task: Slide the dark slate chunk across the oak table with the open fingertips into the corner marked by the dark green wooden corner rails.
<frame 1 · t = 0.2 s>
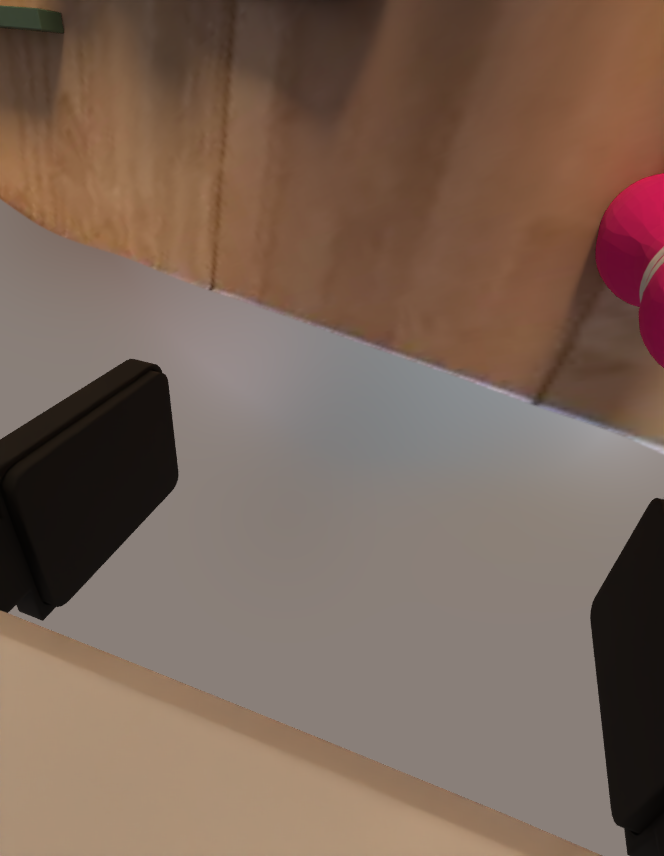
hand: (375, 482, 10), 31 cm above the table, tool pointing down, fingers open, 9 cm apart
pepper mill: (652, 227, 32), on the table
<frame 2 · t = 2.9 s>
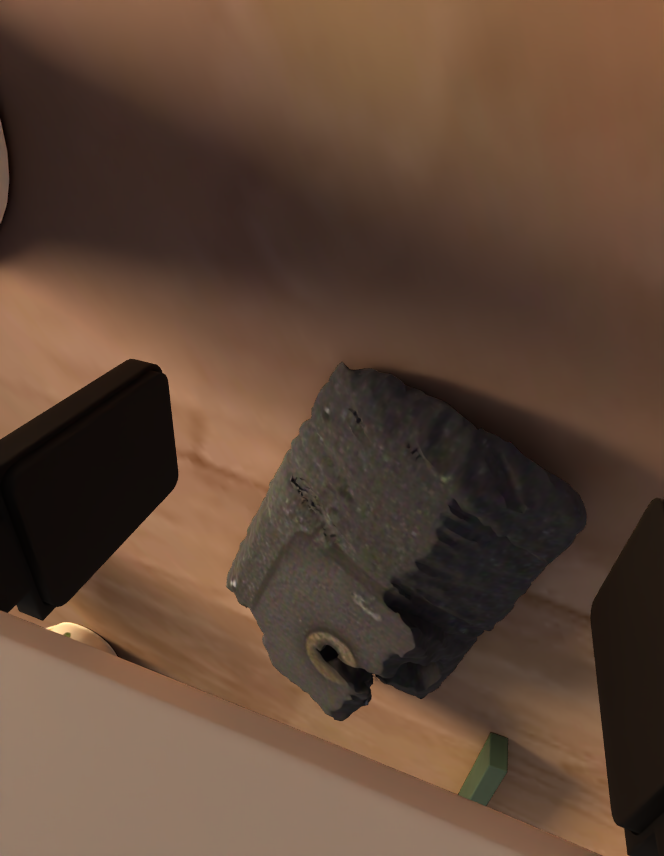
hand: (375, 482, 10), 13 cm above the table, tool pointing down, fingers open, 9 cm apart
corner stop: (347, 732, 41), on the table
dark slate chunk: (384, 550, 29), on the table
pitcher: (97, 648, 47), on the table
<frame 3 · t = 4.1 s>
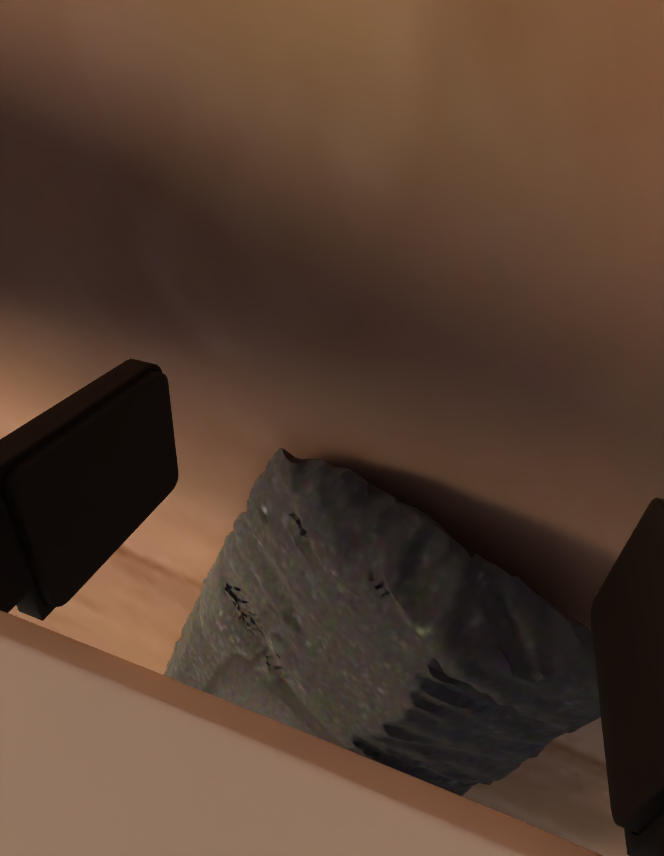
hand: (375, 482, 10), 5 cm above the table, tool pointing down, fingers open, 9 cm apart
dark slate chunk: (353, 667, 22), on the table
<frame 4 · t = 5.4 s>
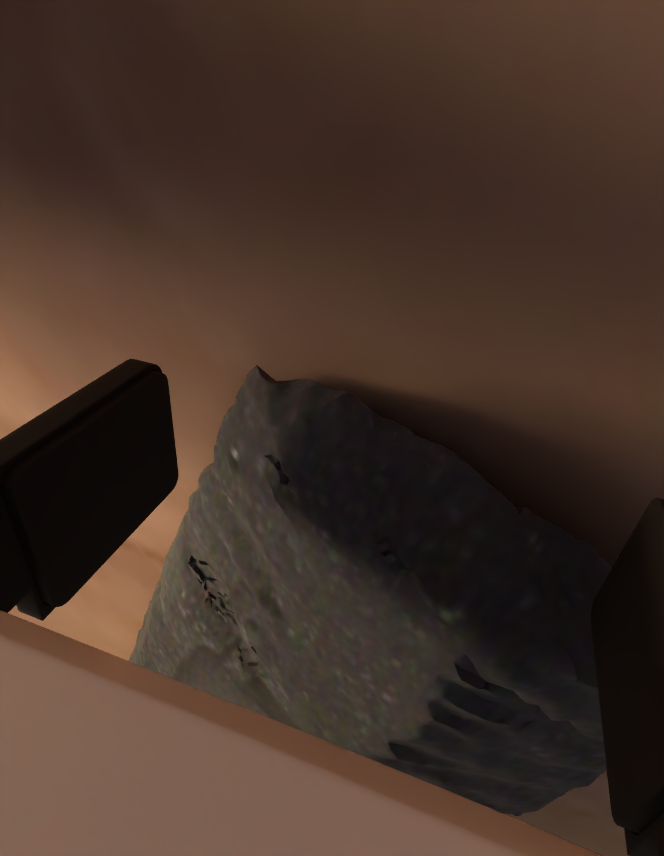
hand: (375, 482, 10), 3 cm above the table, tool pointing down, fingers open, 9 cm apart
dark slate chunk: (349, 665, 18), on the table, touching gripper
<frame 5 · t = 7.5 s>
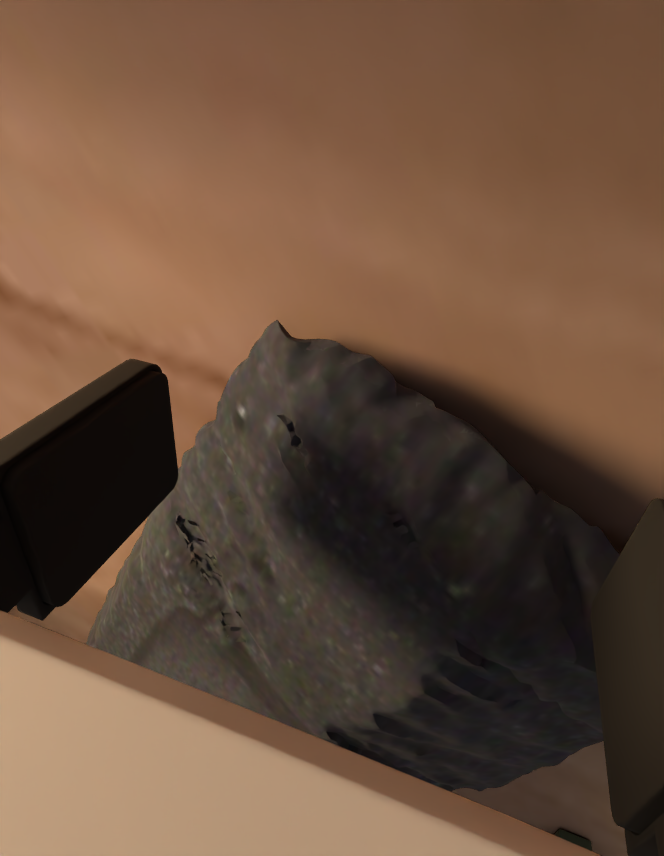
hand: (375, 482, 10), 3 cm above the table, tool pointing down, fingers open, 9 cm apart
corner stop: (313, 800, 25), on the table
dark slate chunk: (327, 637, 18), on the table, touching gripper
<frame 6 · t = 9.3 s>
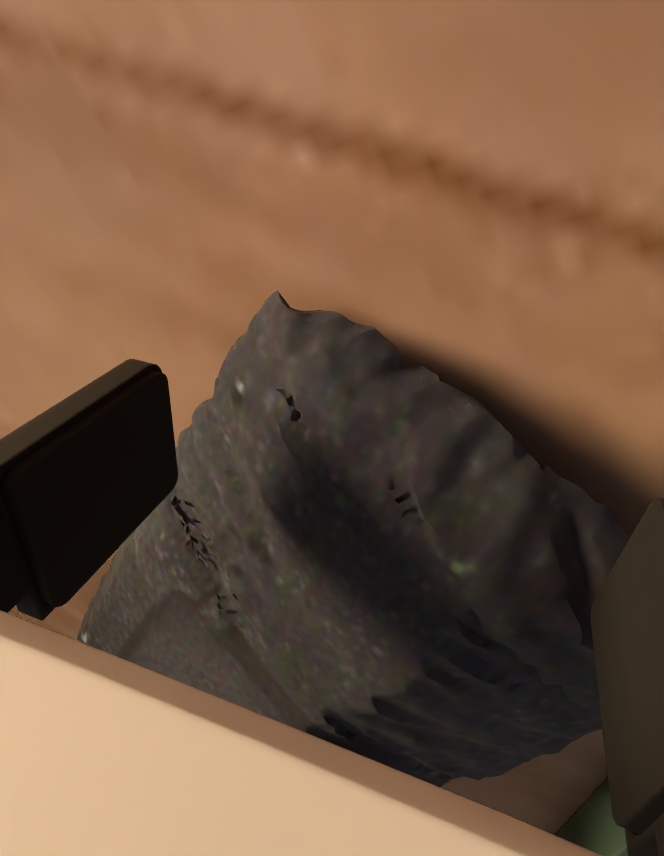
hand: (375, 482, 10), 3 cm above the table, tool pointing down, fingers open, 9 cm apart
corner stop: (326, 740, 22), on the table
dark slate chunk: (324, 623, 18), on the table, touching gripper
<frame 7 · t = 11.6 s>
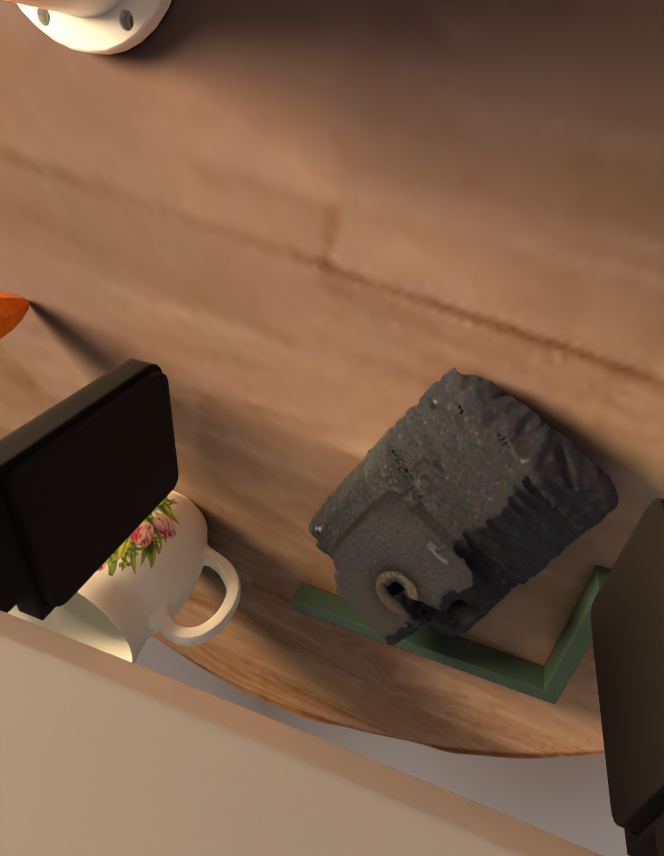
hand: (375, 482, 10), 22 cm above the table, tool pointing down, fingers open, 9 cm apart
corner stop: (440, 588, 41), on the table
dark slate chunk: (448, 514, 37), on the table
pitcher: (187, 519, 48), on the table
carrot: (29, 300, 41), on the table
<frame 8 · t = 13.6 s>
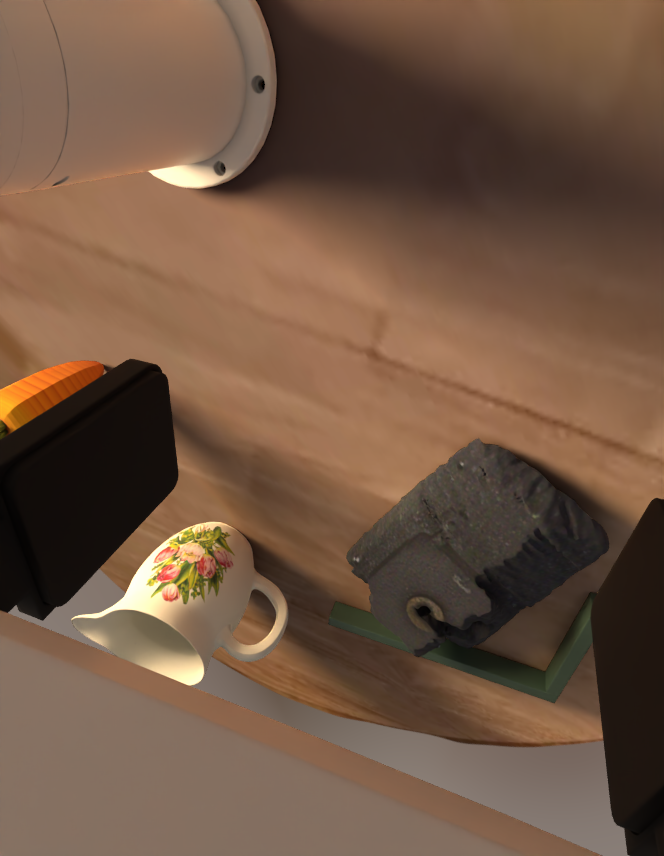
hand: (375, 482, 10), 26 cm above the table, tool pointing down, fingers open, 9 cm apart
corner stop: (458, 607, 49), on the table
dark slate chunk: (467, 549, 45), on the table
pitcher: (234, 546, 55), on the table
carrot: (103, 364, 47), on the table
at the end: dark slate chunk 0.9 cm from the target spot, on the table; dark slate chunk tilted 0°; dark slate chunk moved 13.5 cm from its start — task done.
